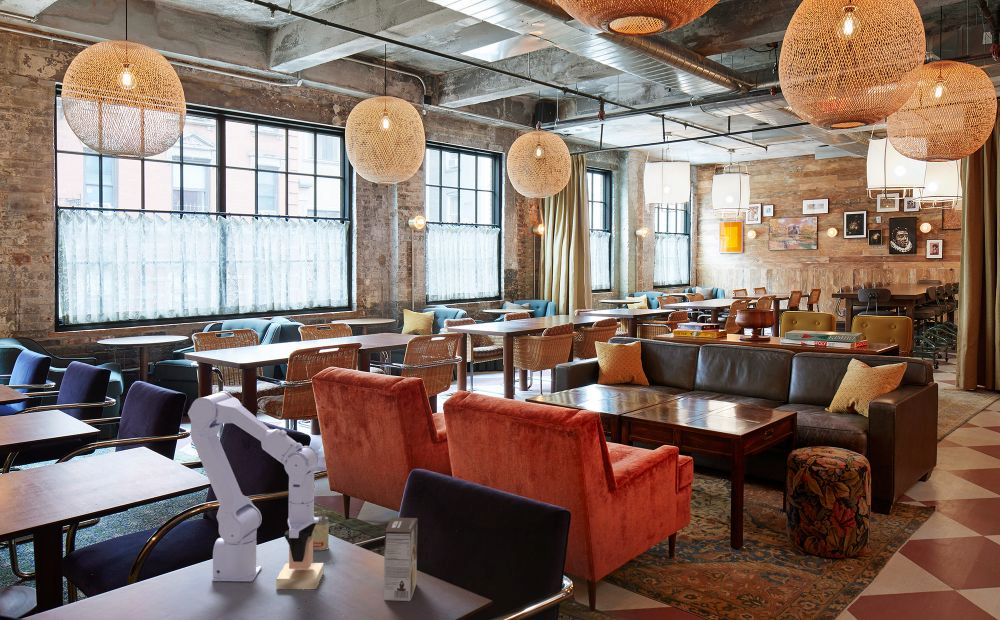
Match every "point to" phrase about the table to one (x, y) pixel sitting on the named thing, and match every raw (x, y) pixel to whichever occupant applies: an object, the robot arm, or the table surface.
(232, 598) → the table surface
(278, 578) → the birch block
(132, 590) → the table surface
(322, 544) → the yellow package
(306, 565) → the terracotta block
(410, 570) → the coffee box
